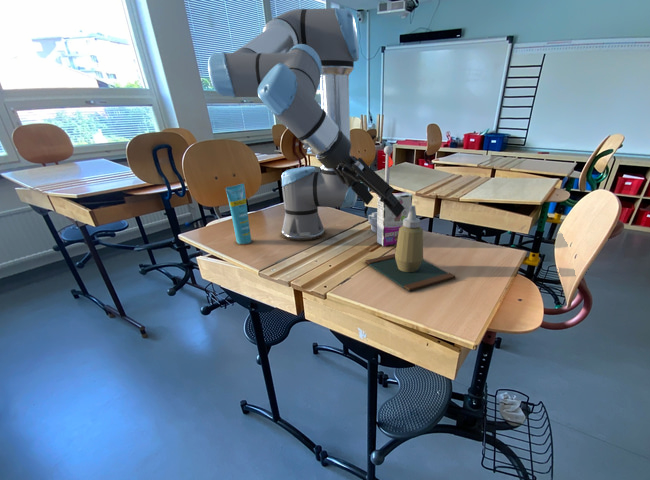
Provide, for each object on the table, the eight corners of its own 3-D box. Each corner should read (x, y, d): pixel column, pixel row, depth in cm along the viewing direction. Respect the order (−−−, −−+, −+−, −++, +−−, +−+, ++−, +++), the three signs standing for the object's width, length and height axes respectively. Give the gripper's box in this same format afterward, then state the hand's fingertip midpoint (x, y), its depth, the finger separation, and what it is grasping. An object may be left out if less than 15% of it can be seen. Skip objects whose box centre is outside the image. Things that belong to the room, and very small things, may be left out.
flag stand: (363, 226, 135) (364, 144, 121) (393, 223, 140) (397, 143, 125) (375, 236, 125) (377, 147, 110) (407, 232, 129) (413, 146, 114)
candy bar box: (402, 238, 123) (405, 191, 115) (410, 242, 119) (413, 194, 111) (375, 242, 119) (376, 194, 111) (383, 247, 115) (384, 198, 107)
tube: (242, 246, 114) (232, 187, 105) (231, 244, 116) (220, 186, 106) (257, 239, 120) (248, 183, 111) (246, 237, 122) (236, 182, 112)
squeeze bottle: (404, 261, 103) (408, 200, 94) (427, 268, 98) (433, 205, 89) (388, 269, 97) (391, 206, 88) (412, 277, 93) (417, 211, 84)
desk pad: (365, 263, 103) (365, 260, 102) (407, 253, 110) (407, 250, 109) (409, 292, 86) (409, 289, 86) (455, 278, 93) (455, 275, 93)
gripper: (294, 151, 80) (351, 207, 94) (343, 164, 61) (405, 231, 75) (313, 125, 79) (367, 185, 94) (369, 130, 61) (425, 204, 75)
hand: (384, 206), depth 84 cm, fingers open, 13 cm apart
